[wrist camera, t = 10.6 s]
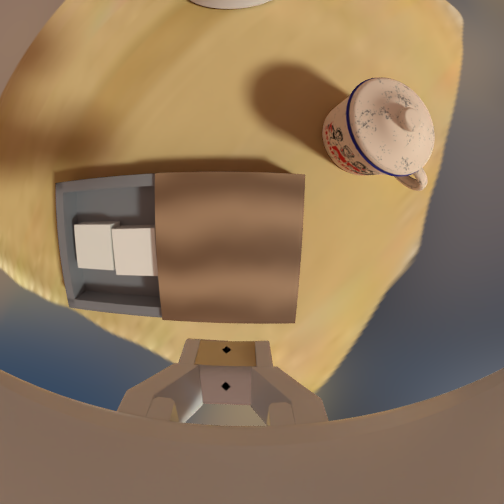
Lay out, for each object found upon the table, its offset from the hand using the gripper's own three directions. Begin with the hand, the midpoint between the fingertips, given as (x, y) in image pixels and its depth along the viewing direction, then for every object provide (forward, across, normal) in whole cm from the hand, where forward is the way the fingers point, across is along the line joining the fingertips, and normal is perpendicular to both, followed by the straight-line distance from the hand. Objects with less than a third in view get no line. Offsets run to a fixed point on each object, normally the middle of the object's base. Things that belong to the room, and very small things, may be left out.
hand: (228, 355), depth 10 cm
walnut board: (+20, +1, 0) cm, 21 cm away
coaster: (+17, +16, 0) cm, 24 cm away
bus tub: (+20, +14, 0) cm, 25 cm away
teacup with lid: (+21, -14, -11) cm, 27 cm away
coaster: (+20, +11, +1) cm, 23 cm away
